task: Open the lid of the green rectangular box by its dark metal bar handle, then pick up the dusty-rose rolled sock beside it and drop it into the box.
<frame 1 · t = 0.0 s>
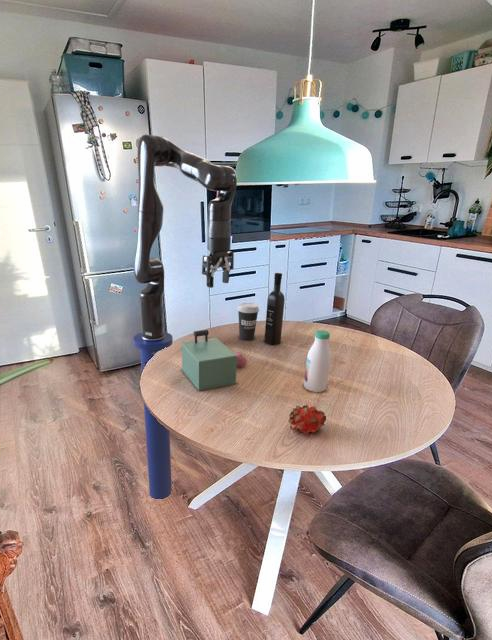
hand: (217, 285, 131), 31 cm above the table, tool pointing down, fingers open, 8 cm apart
wine bottle: (272, 342, 169), on the table
coffee cup: (246, 337, 173), on the table
green rectangular box: (208, 376, 137), on the table
green box lid: (208, 343, 132), point 12 cm above the table, hinge at 0.0°
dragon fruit: (306, 430, 109), on the table
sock: (238, 364, 147), on the table
milk bottle: (314, 387, 132), on the table
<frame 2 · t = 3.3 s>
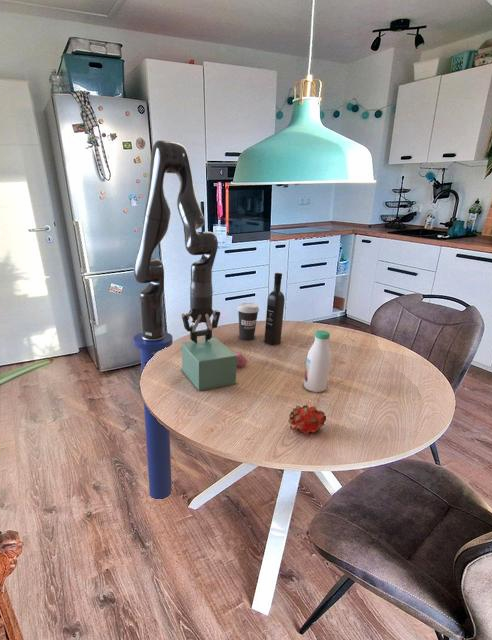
hand: (201, 340, 138), 11 cm above the table, tool pointing down, fingers closed on green box lid, 5 cm apart
green box lid: (208, 343, 132), point 12 cm above the table, hinge at 0.0°, touching gripper
everything else where it was.
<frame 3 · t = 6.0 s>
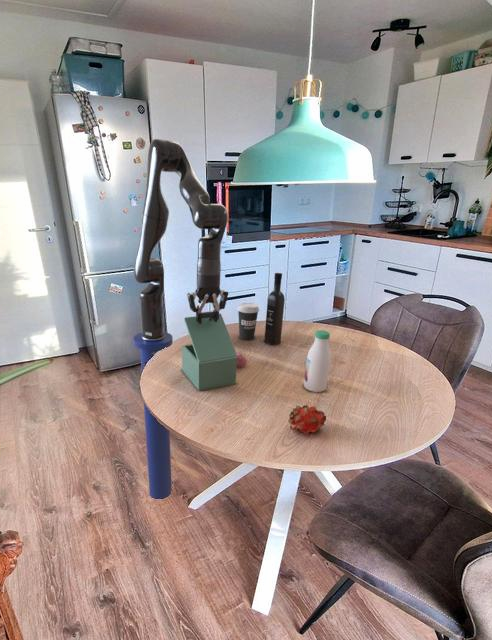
hand: (207, 321, 130), 20 cm above the table, tool pointing down, fingers closed on green box lid, 5 cm apart
green box lid: (211, 333, 128), point 17 cm above the table, hinge at 37.1°, touching gripper
everything else where it was.
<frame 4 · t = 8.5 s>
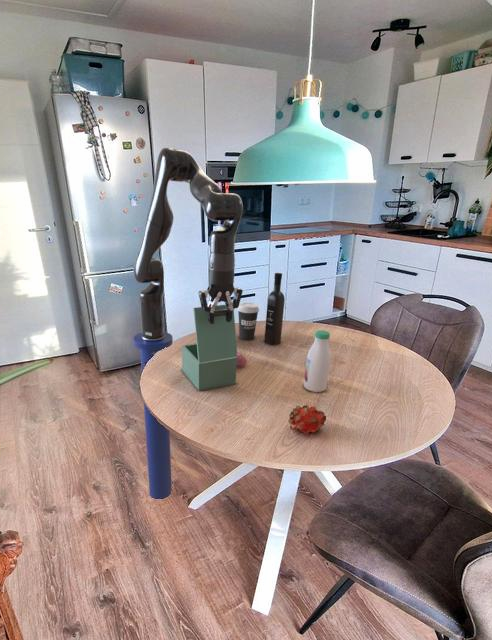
hand: (219, 322, 120), 23 cm above the table, tool pointing down, fingers closed on green box lid, 5 cm apart
green box lid: (218, 333, 122), point 19 cm above the table, hinge at 74.5°, touching gripper
everything else where it was.
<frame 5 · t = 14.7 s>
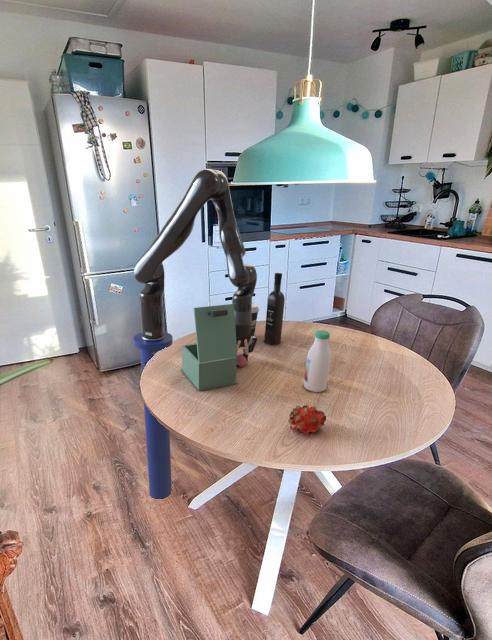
hand: (238, 363, 147), 0 cm above the table, tool pointing down, fingers closed on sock, 4 cm apart
green box lid: (218, 333, 122), point 19 cm above the table, hinge at 75.1°
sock: (238, 364, 147), on the table, touching gripper
everything else where it was.
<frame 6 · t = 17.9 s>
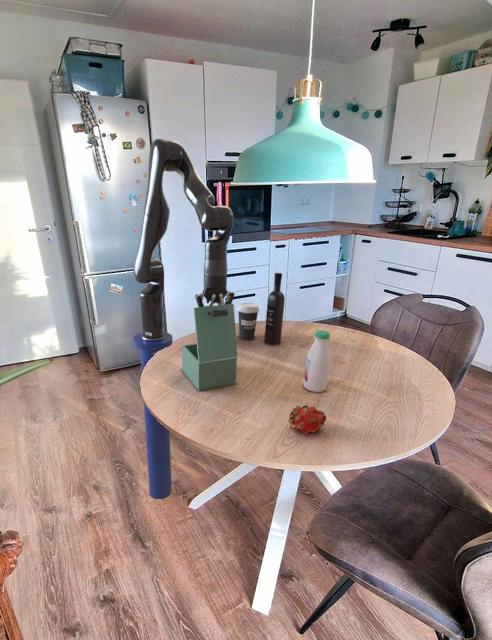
hand: (214, 322, 132), 19 cm above the table, tool pointing down, fingers closed on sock, 4 cm apart
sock: (214, 323, 132), point 19 cm above the table, touching gripper
everything else where it was.
when the fingers open (8 cm above the table, at t = 21.3 s): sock drops 7 cm, resting on green rectangular box.
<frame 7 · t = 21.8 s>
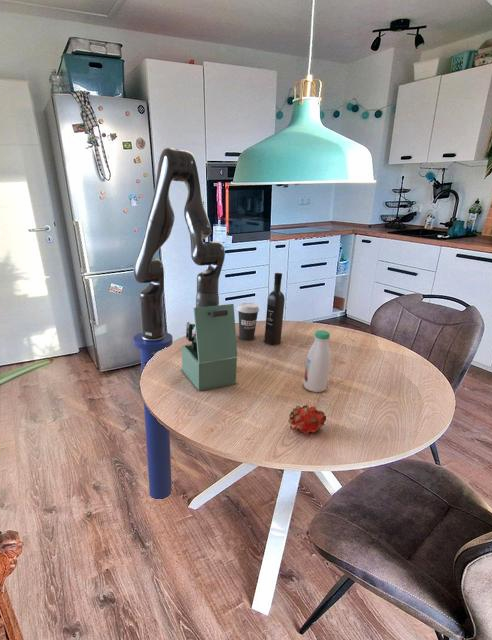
hand: (206, 349, 134), 10 cm above the table, tool pointing down, fingers open, 8 cm apart
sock: (206, 373, 138), point 1 cm above the table, touching green rectangular box
everything else where it was.
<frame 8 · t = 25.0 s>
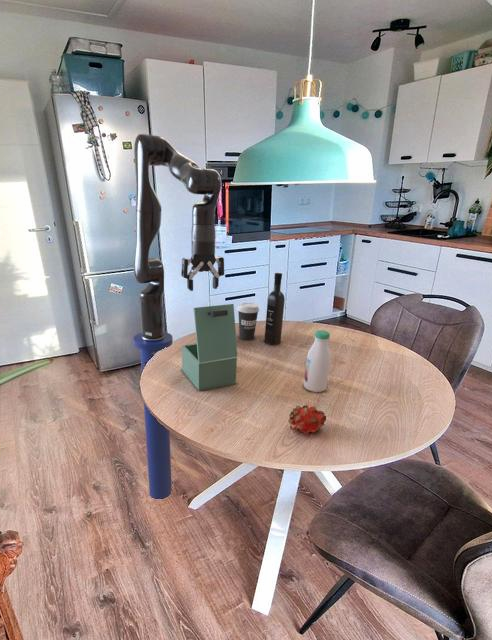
hand: (202, 289, 129), 30 cm above the table, tool pointing down, fingers open, 8 cm apart
nothing on the table moved.
at the end: green box lid at +75° (first picture: +0°); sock inside the target area in the green rectangular box (1.5 cm from its centre), point 0.8 cm above the green rectangular box's base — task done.
